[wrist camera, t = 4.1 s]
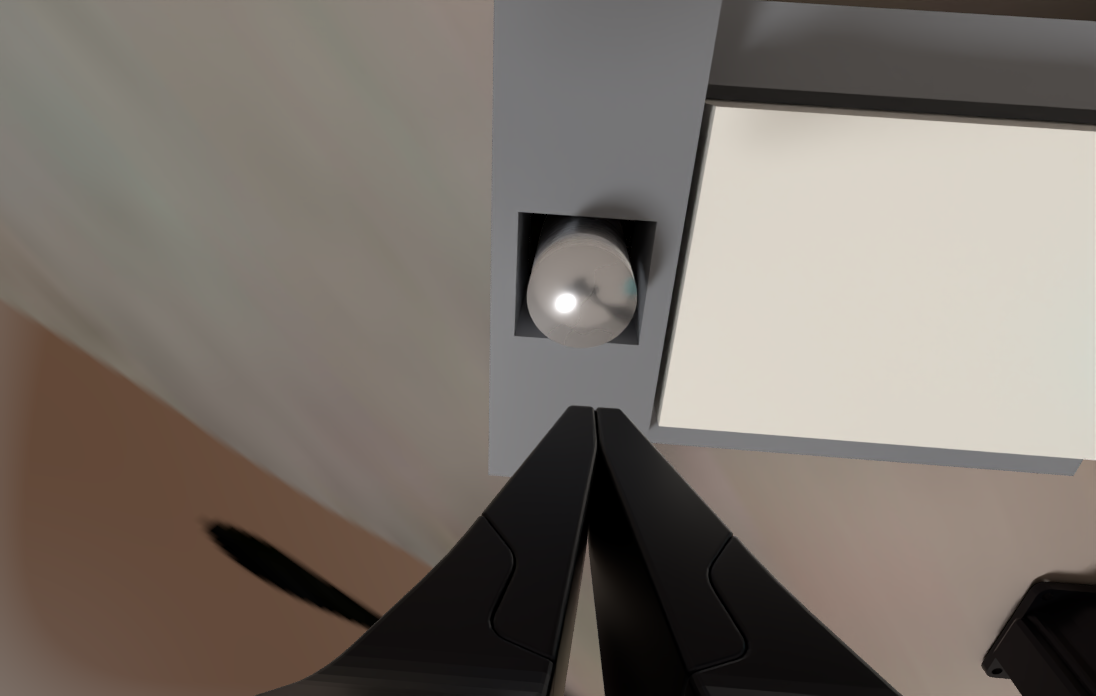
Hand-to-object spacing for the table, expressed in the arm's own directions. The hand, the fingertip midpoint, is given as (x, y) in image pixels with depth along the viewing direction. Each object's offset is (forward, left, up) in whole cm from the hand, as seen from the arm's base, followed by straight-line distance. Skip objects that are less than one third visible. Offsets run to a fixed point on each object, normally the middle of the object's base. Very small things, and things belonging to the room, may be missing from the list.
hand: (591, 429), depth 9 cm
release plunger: (0, 0, -11) cm, 11 cm away
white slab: (-10, 0, -11) cm, 15 cm away
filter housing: (-8, 0, -12) cm, 14 cm away
